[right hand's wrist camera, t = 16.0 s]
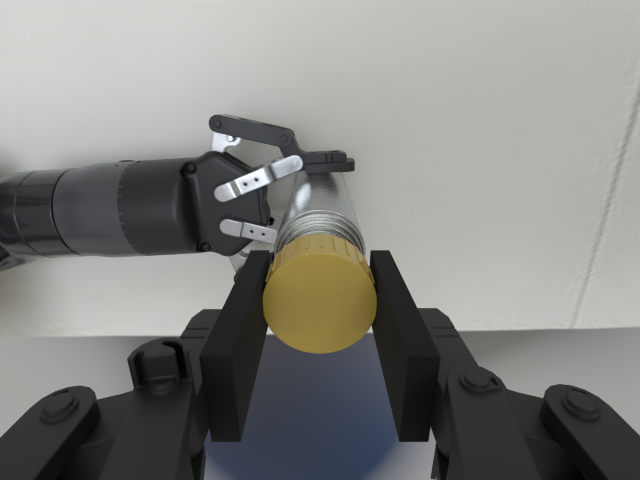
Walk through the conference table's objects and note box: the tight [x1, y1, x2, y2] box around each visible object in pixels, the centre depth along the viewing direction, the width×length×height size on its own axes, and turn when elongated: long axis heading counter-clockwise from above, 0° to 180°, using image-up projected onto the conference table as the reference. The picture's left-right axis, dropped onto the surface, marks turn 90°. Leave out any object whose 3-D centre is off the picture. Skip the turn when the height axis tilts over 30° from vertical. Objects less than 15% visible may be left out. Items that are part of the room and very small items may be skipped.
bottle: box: [274, 171, 365, 256], centre depth 23 cm, size 4×4×22 cm
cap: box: [263, 233, 377, 353], centre depth 14 cm, size 4×4×2 cm
